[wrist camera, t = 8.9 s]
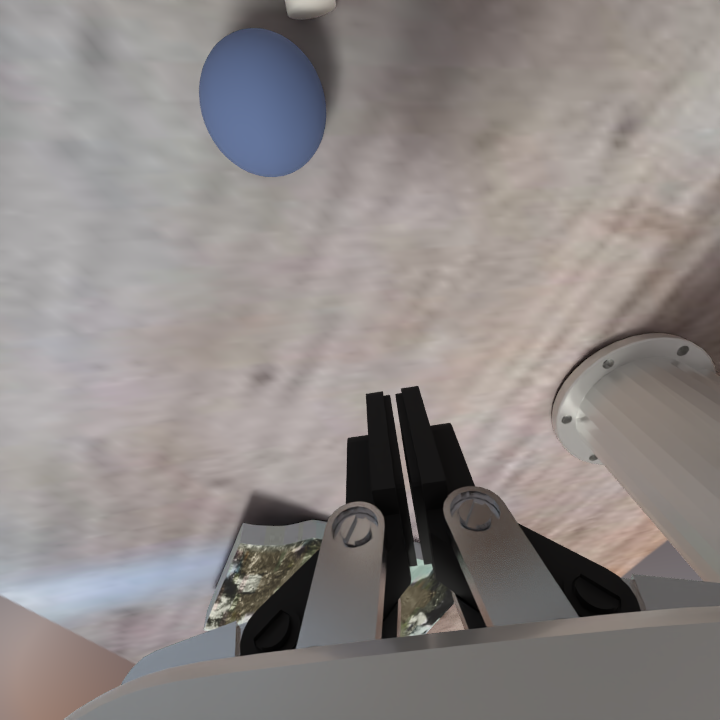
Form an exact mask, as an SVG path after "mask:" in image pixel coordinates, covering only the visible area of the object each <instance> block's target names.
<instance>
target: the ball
mask: <svg viewBox="0 0 720 720" xmlns="http://www.w3.org/2000/svg"><path fill="white" fill-rule="evenodd" d="M199 97H200V106H201V112H202V116H203V119H204V122H205V125H206V127H207V130H208V132H209V134H210V135H211V137H212V139H213V141H214V142H215V144H216V145H217V147H218V148H219V149H220V151H221V152H222V153H223V154H224V155H225V156H226V157H227V158H228V159H229V160H231V161H232V162H233V163H234V164H235V165H237V166H239V167H240V168H242V169H243V170H245V171H248V172H250V173H253V174H256V175H259V176H265V177H278V176H284V175H287V174H290V173H293V172H295V171H296V170H298V169H300V168H301V167H303V166H304V165H305V164H306V163H307V162H308V161H309V160H310V159H311V158H312V156H313V155H314V154H315V152H316V150H317V149H318V147H319V145H320V143H321V140H322V137H323V133H324V129H325V123H326V103H325V97H324V91H323V88H322V85H321V82H320V79H319V77H318V75H317V72H316V70H315V69H314V67H313V65H312V63H311V62H310V61H309V59H308V58H307V57H306V55H305V54H304V53H303V52H302V51H301V50H300V49H299V48H298V47H297V46H296V45H295V44H294V43H293V42H291V41H290V40H289V39H287V38H285V37H284V36H282V35H280V34H278V33H275V32H273V31H270V30H266V29H262V28H248V29H241V30H238V31H235V32H233V33H231V34H229V35H227V36H226V37H224V38H223V39H222V40H221V41H219V42H218V43H217V44H216V45H215V46H214V48H213V49H212V51H211V52H210V54H209V55H208V57H207V59H206V61H205V64H204V66H203V69H202V73H201V78H200V86H199Z"/></svg>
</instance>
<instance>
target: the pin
mask: <svg viewBox="0 0 720 720" xmlns="http://www.w3.org/2000/svg"><path fill="white" fill-rule="evenodd" d="M285 4H286V10H287V15H288V17H290V18H292V19H297V20H304V19H312V18H316V17H320V16H323V15H325V14H328V13H329V12H331V11H333V10H334V9H335V7H336V1H335V0H285Z"/></svg>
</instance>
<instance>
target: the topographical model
mask: <svg viewBox="0 0 720 720" xmlns="http://www.w3.org/2000/svg"><path fill="white" fill-rule="evenodd" d="M326 524H327V522H324V521H318V520H309V521H305V522H300V523H296V524H292V525H287V526H262V525H251V524H246V523H243V524H242V526H241V529H240V531H239V534H238V536H237V539H236V541H235V544H234V546H233V548H232V551H231V553H230V556H229V558H228V560H227V563H226V565H225V568H224V570H223V573H222V575H221V577H220V580H219V582H218V585H217V587H216V590H215V592H214V594H213V597H212V599H211V602H210V605H209V607H208V610H207V614H206V619H205V625H204V630H207V631H210V630H213V629H216V628H218V627H221V626H224V625H227V624H229V623H232V622H235V621H237V623H238V625H240V624H243V623H245V622H248V620H249V619H250V618H251V617H252V615H253V614H254V613H255V612H256V610H257V609H258V608H259V607H260V606H261V605H263V604H264V603H265V602H266V601H267V600H268V599H269V598H270V597H271V596H272V595H273V594H274V593H275V592H276V591H277V590H278V589H279V588H280V587H281V586H282V585H283V584H284V583H285V582H286V581H287V580H288V579H289V578H290V577H291V576H292V575H293V574H294V573H295V572H296V571H297V570H298V569H299V568H300V567H301V566H302V565H303V564H304V563H305V562H306V561H307V560H308V559H309V558H310V557H311V556H312V555H313V554H314V553H316V552H317V551H318V550H319V549H320V547H321V543H322V539H323V535H324V531H325V527H326ZM414 547H415V553H416V559H417V566H412V567H410V572H411V579H412V580H411V584H410V585H409V586H408V588H407V589H406V590H405V592H404V593H403V594H402V595H401V597H400V598H401V630H400V637H405V636H414V635H423V634H426V633H427V632H428V631H429V630H430V628H431V627H432V626H433V625H434V624H435V623H436V622H437V621H438V620H439V619H440V618H441V617H442V616H443V615H444V613H445V612H446V611H447V610H448V609H449V608H450V607H451V606H452V605H453V604H454V600H453V597H452V592H451V590H450V589H448V588H447V587H446V586H444V585H443V584H442V583H440V582H439V581H437V580H436V577H434V573H433V568H432V564H428V565H424V562H423V556H422V551H421V545H420V543H417V542H414Z"/></svg>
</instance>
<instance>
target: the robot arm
mask: <svg viewBox="0 0 720 720" xmlns="http://www.w3.org/2000/svg"><path fill="white" fill-rule="evenodd" d="M401 392H402V393H399V394H395V395H396V402H397V408H398V415H399V421H400V428H401V434H402V441H403V447H404V454H405V460H406V466H407V472H408V478H409V483H410V489H411V495H412V500H413V506H414V511H415V517H416V523H417V528H418V534H419V540H420V545H421V551H422V556H423V562H424V565H428V564H432V568H433V573H434V577H436V580H437V581H439V582H440V583H442V584H443V585H444V586H446V587H447V588H448V589H450V590H451V592H452V597H453V600H454V603H455V605H456V608H457V611H458V613H459V616H460V618H461V621H462V624H463V626H464V629H465V630H459V631H450V632H440V633H432V634H423V635H414V636H405V637H400V630H401V598H400V597H401V595H402V594H403V593H404V592H405V590H406V589H407V588H408V586H409V585H410V584H411V580H412V579H411V572H410V567H412V566H417V559H416V553H415V547H414V541H413V535H412V528H411V522H410V516H409V510H408V504H407V497H406V491H405V485H404V479H403V473H402V466H401V460H400V454H399V448H398V442H397V435H396V429H395V423H394V417H393V411H392V405H391V398H390V395H386V396H383V391H382V392H376V393H369V394H366V404H367V422H368V435H365V436H358V437H351V438H348V440H347V479H346V504H345V505H343V506H341V507H340V508H338V509H337V510H336V511H334V513H333V514H332V515H331V516H330V517H329V519H328V522H327V524H326V527H325V531H324V535H323V539H322V543H321V547H320V549H319V550H318V551H317V552H316V553H314V554H313V555H312V556H311V557H310V558H309V559H308V560H307V561H306V562H305V563H304V564H303V565H302V566H301V567H300V568H299V569H298V570H297V571H296V572H295V573H294V574H293V575H292V576H291V577H290V578H289V579H288V580H287V581H286V582H285V583H284V584H283V585H282V586H281V587H280V588H279V589H278V590H277V591H276V592H275V593H274V594H273V595H272V596H271V597H270V598H269V599H268V600H267V601H266V602H265V603H264V604H263V605H261V606H260V607H259V608H258V609H257V610H256V612H255V613H254V614H253V615H252V617H251V618H250V619H249V620H248V622H245V623H243V624H240V625H238V623H237V621H235V622H232V623H229V624H227V625H224V626H221V627H218V628H216V629H213V630H210V631H208V632H205V633H202V634H200V635H197V636H194V637H192V638H189V639H186V640H183V641H181V642H178V643H175V644H173V645H170V646H167V647H165V648H162V649H159V650H156V651H154V652H152V653H151V654H149V655H147V656H145V657H143V658H142V659H141V660H140V661H139V662H138V663H137V664H136V665H135V666H134V667H133V668H132V669H131V670H130V672H129V673H128V675H127V676H126V677H125V679H124V680H123V682H122V684H121V686H118V687H116V688H114V689H112V690H110V691H108V692H106V693H104V694H102V695H101V696H99V697H97V698H95V699H94V700H92V701H90V702H88V703H87V704H85V705H84V706H82V707H81V708H79V709H78V710H76V711H75V712H73V713H72V714H70V715H69V716H68V717H66V718H65V719H64V720H720V376H718V375H716V370H715V366H714V364H713V362H712V359H711V357H710V356H709V355H708V354H707V353H706V352H705V351H704V349H702V348H701V347H699V346H697V345H696V344H694V343H693V342H691V341H689V340H686V339H684V338H682V337H679V336H677V335H671V334H666V333H648V334H642V335H636V336H632V337H629V338H626V339H623V340H620V341H617V342H615V343H613V344H611V345H609V346H607V347H605V348H603V349H601V350H599V351H598V352H596V353H595V354H593V355H592V356H590V357H589V358H587V359H586V360H585V361H584V362H583V363H582V364H580V365H579V366H578V367H577V368H576V369H575V370H574V371H573V372H572V373H571V375H570V376H569V377H568V378H567V379H566V381H565V382H564V384H563V385H562V387H561V389H560V390H559V392H558V394H557V396H556V399H555V402H554V405H553V410H552V417H551V418H552V427H553V430H554V433H555V435H556V438H557V439H558V440H559V442H560V443H561V444H562V446H563V447H564V448H565V449H566V450H567V451H568V452H569V453H570V454H571V455H572V456H574V457H576V458H578V459H579V460H582V461H584V462H587V463H591V464H598V465H604V466H605V467H606V468H607V469H608V471H609V472H610V473H611V474H612V475H613V476H614V478H615V479H616V480H617V481H618V482H619V483H620V485H621V486H622V487H623V488H624V489H625V490H626V492H627V493H628V494H629V495H630V496H631V497H632V499H633V500H634V501H635V502H636V503H637V504H638V506H639V507H640V508H641V509H642V510H643V511H644V513H645V514H646V515H647V516H648V517H649V518H650V520H651V521H652V522H653V523H654V524H655V525H656V527H657V528H658V529H659V530H660V531H661V532H662V534H663V535H664V536H665V537H666V538H667V539H668V541H669V542H670V543H671V544H672V545H673V546H674V547H675V549H676V550H677V551H678V552H679V553H680V555H681V556H682V557H683V558H684V559H685V560H686V562H687V563H688V564H689V565H690V566H691V567H692V569H693V570H694V571H695V572H696V573H697V574H698V575H699V576H700V578H701V579H702V580H703V581H694V580H685V579H675V578H665V577H655V576H645V575H634V574H633V575H632V577H631V579H625V578H620V577H619V576H617V575H616V574H614V573H613V572H611V571H609V570H608V569H606V568H604V567H602V566H600V565H598V564H597V563H595V562H593V561H591V560H589V559H587V558H585V557H583V556H581V555H579V554H577V553H575V552H573V551H571V550H569V549H567V548H565V547H563V546H561V545H559V544H558V543H556V542H554V541H552V540H550V539H548V538H546V537H544V536H542V535H540V534H538V533H536V532H534V531H532V530H530V529H528V528H526V527H524V526H522V525H520V524H519V523H517V521H516V520H515V518H514V517H513V515H512V514H511V512H510V511H509V509H508V508H507V506H506V505H505V503H504V502H503V501H502V500H501V498H500V497H499V496H498V495H496V494H495V493H493V492H492V491H490V490H488V489H485V488H482V487H475V485H474V482H473V480H472V477H471V474H470V472H469V469H468V467H467V464H466V461H465V459H464V456H463V453H462V451H461V448H460V446H459V443H458V440H457V438H456V435H455V433H454V430H453V427H452V425H451V424H450V423H446V424H439V425H432V426H430V424H429V420H428V417H427V414H426V410H425V407H424V404H423V400H422V397H421V394H420V390H419V387H418V386H414V387H408V388H402V389H401Z"/></svg>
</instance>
